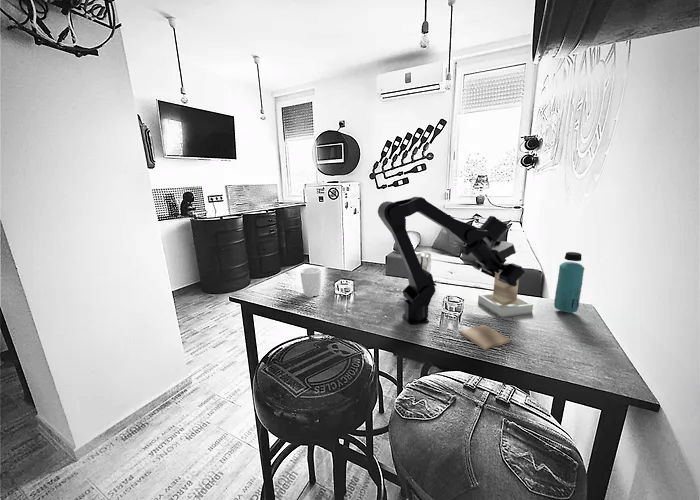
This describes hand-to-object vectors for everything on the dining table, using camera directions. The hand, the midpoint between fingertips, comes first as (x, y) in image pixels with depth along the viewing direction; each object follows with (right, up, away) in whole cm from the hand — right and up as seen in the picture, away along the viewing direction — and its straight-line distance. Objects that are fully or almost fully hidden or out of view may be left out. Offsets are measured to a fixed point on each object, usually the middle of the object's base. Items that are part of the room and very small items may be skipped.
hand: (509, 282), depth 96 cm
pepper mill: (-1, -7, +1) cm, 7 cm away
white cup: (-69, -7, +19) cm, 72 cm away
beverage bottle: (+16, -10, -3) cm, 19 cm away
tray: (-1, -9, +2) cm, 9 cm away
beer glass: (-25, -5, +19) cm, 32 cm away
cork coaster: (-16, -14, -16) cm, 26 cm away
